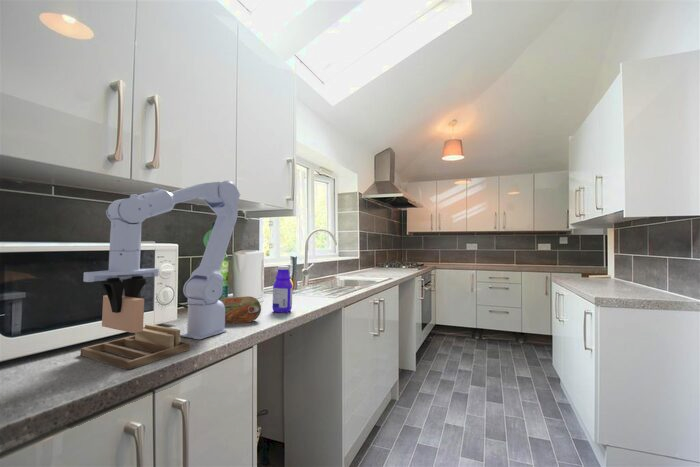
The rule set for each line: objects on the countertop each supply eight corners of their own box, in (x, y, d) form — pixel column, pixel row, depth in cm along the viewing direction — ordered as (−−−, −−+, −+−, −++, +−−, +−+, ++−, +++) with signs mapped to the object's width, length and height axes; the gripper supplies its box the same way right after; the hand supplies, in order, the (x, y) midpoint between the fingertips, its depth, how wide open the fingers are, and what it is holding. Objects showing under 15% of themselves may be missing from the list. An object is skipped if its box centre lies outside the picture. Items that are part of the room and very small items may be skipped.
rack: (143, 338, 81) (143, 333, 81) (190, 349, 73) (190, 343, 74) (80, 355, 69) (80, 348, 69) (128, 369, 61) (129, 362, 61)
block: (111, 324, 72) (112, 294, 73) (143, 330, 67) (144, 298, 68) (101, 326, 71) (103, 295, 71) (133, 333, 66) (134, 300, 66)
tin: (210, 324, 96) (211, 298, 97) (212, 322, 99) (213, 296, 100) (260, 322, 101) (261, 296, 101) (260, 320, 104) (261, 294, 104)
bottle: (294, 310, 119) (295, 265, 120) (287, 313, 113) (288, 266, 114) (276, 309, 120) (277, 265, 121) (269, 312, 115) (271, 266, 116)
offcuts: (147, 341, 79) (147, 323, 79) (182, 349, 73) (183, 330, 73) (133, 345, 76) (134, 326, 76) (169, 353, 70) (170, 334, 70)
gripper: (146, 250, 78) (144, 304, 77) (77, 250, 65) (73, 315, 64) (164, 251, 75) (162, 306, 75) (95, 251, 62) (92, 319, 61)
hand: (122, 311), depth 69 cm, fingers closed on block, 2 cm apart
